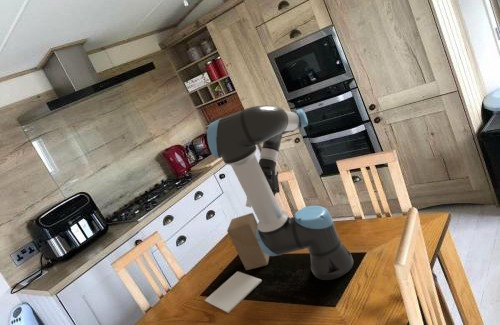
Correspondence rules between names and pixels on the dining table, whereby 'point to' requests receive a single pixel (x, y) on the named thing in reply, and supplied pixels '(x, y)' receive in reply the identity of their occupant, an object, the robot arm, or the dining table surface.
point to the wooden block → (247, 241)
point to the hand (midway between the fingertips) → (257, 207)
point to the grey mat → (233, 291)
